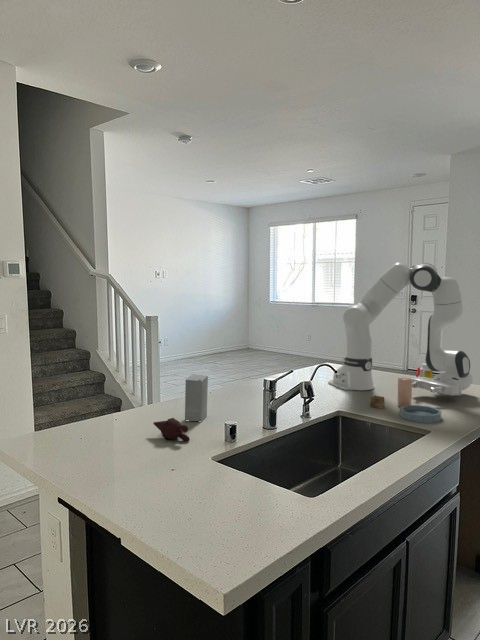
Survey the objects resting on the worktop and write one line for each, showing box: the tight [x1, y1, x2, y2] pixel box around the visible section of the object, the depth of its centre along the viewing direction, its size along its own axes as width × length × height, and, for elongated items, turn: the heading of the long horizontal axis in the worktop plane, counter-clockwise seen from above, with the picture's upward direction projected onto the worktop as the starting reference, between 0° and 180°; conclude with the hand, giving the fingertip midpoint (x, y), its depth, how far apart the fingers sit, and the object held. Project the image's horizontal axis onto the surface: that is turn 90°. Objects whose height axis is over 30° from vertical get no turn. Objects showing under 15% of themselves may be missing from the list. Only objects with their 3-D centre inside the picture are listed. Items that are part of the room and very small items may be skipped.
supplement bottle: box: [419, 362, 433, 379], centre depth 224 cm, size 6×6×10 cm
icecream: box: [152, 417, 191, 442], centre depth 152 cm, size 7×7×15 cm
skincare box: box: [184, 373, 209, 422], centre depth 172 cm, size 8×7×16 cm
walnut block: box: [370, 395, 385, 410], centre depth 187 cm, size 4×4×4 cm
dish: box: [399, 404, 443, 424], centre depth 174 cm, size 14×14×2 cm
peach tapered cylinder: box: [397, 377, 413, 408], centre depth 188 cm, size 5×5×11 cm
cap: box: [415, 366, 422, 377], centre depth 237 cm, size 8×6×6 cm
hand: (422, 387), depth 193 cm, fingers open, 8 cm apart
